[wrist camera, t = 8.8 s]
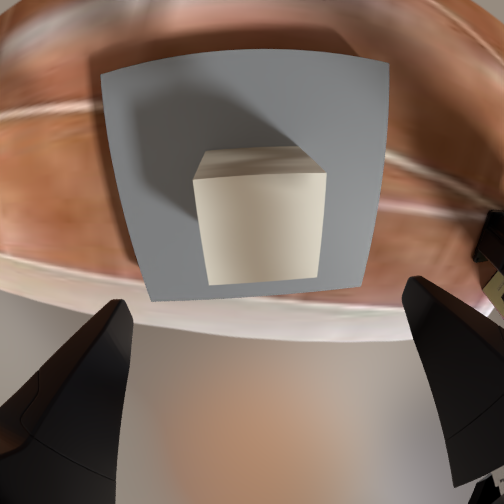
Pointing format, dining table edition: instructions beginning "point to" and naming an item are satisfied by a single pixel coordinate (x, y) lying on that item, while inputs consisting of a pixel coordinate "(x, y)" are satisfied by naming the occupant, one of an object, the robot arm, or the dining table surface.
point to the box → (496, 292)
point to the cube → (260, 214)
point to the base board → (245, 136)
